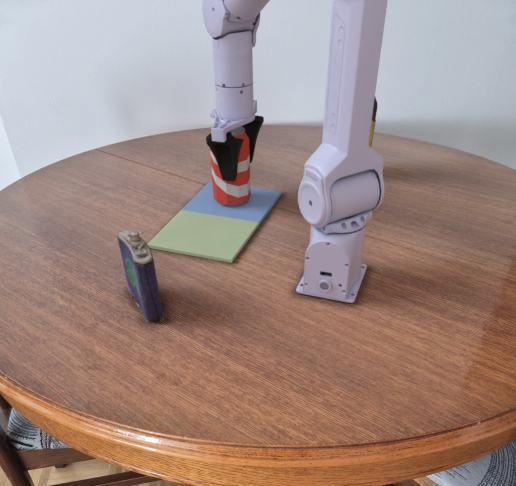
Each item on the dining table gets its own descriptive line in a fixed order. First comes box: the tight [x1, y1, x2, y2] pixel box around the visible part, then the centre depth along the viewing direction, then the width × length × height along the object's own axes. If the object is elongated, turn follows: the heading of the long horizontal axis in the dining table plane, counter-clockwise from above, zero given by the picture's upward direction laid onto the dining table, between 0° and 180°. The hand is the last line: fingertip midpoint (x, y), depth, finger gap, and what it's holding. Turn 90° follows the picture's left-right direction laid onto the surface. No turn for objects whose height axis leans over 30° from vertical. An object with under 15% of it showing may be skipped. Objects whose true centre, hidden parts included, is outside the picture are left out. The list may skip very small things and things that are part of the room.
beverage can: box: [209, 126, 251, 206], centre depth 90 cm, size 6×6×12 cm
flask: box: [116, 229, 165, 325], centre depth 69 cm, size 9×3×11 cm, turn 28°
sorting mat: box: [147, 180, 283, 264], centre depth 90 cm, size 24×14×1 cm, turn 160°
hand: (237, 170), depth 90 cm, fingers open, 7 cm apart
